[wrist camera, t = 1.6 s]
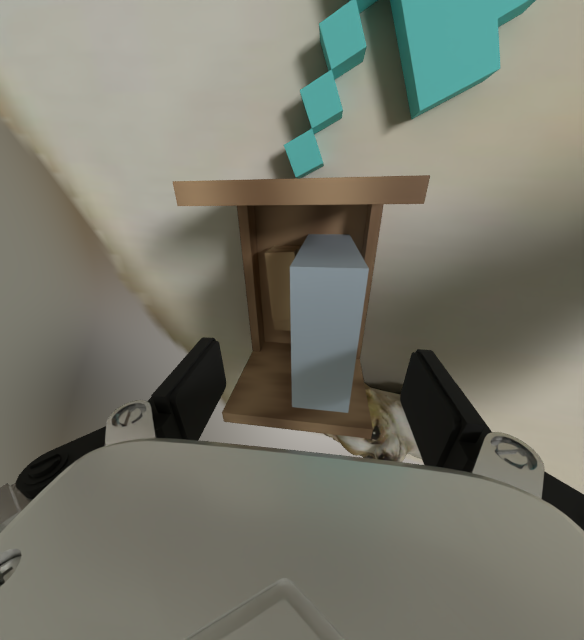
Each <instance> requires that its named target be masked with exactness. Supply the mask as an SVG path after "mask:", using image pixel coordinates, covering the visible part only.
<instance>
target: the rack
mask: <svg viewBox="0 0 584 640" xmlns="http://www.w3.org/2000/svg"><path fill="white" fill-rule="evenodd" d="M429 179H430V175H425V176H384V177H342V178H300V179H258V180H216V181H175V182H173V186H174V191H175V195H176V200H177V205H178V206H233V205H237V211H238V220H239V229H240V238H241V248H242V257H243V266H244V275H245V284H246V294H247V303H248V312H249V321H250V331H251V340H252V349H253V352H252V354H251V356H250V358H249V360H248V362H247V364H246V366H245V368H244V370H243V372H242V374H241V376H240V378H239V380H238V382H237V384H236V386H235V388H234V390H233V392H232V394H231V396H230V398H229V400H228V402H227V404H226V406H225V408H224V410H223V412H222V414H223V419H224V421H225V422H232V423H240V424H248V425H257V426H265V427H274V428H282V429H291V430H299V431H308V432H316V433H324V434H333V435H341V436H350V437H358V438H367V439H371V436H372V432H373V427H372V422H371V417H370V411H369V406H368V401H367V395H366V390H365V385H364V380H363V374H362V369H361V364H360V354H361V348H362V341H363V335H364V328H365V322H366V315H367V309H368V302H369V295H370V289H371V282H372V276H373V269H374V263H375V256H376V250H377V243H378V237H379V230H380V224H381V217H382V211H383V204H424V201H425V196H426V192H427V188H428V183H429ZM308 234H350V236H351V238H352V240H353V241H354V243H355V245H356V247H357V248H358V250H359V252H360V254H361V255H362V257H363V259H364V261H365V263H366V264H367V266H368V268H369V272H368V279H367V286H366V293H365V299H364V306H363V313H362V320H361V327H360V334H359V341H358V348H357V355H356V362H355V369H354V376H353V383H352V390H351V397H350V404H349V411H348V413H344V412H335V411H325V410H316V409H306V408H297V407H292V376H291V331H285V330H275V322H274V320H272V313H271V304H270V295H269V287H268V278H267V269H266V260H265V252H266V251H268V250H269V249H271V248H272V247H273V246H274V245H275V246H302V245H303V243H304V241H305V239H306V238H307V236H308Z"/></svg>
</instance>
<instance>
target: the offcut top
mask: <svg viewBox="0 0 584 640" xmlns="http://www.w3.org/2000/svg"><path fill="white" fill-rule="evenodd" d="M296 255H297V248H292V249H269V250H268V251H266V252H265V260H266V269H267V278H268V287H269V295H270V304H271V313H272V320H291V312H290V265H291V264H292V262H293V260H294V258H295V257H296Z"/></svg>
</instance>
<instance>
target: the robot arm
mask: <svg viewBox="0 0 584 640" xmlns="http://www.w3.org/2000/svg"><path fill="white" fill-rule="evenodd" d="M225 387H226V378H225V373H224V367H223V362H222V356H221V351H220V345H219V342H218V341H216V340H215V339H214V338H202V339H201V340H200V341H199V342H198V343H197V344H196V345H195V346H194V348H193V349H192V350H191V351H190V352H189V353H188V354H187V356H186V357H185V358H184V359H183V360H182V361H181V362H180V364H179V365H178V366H177V367H176V368H175V369H174V370H173V372H172V373H171V374H170V375H169V376H168V377H167V378H166V379H165V381H164V382H163V383H162V384H161V385H160V386H159V387H158V389H157V390H156V391H155V392H154V393H153V394H152V397H151V398H150V399H149V400H148V401H144V400H136V401H132V402H129V403H126V404H124V405H122V406H121V407H119V408H118V409H116V410H115V411H114V412H113V413H112V414H111V415H110V416H109V418H108V420H107V423H106V426H105V427H103V428H101V429H99V430H96V431H94V432H92V433H90V434H87V435H85V436H83V437H81V438H78V439H76V440H74V441H71V442H69V443H67V444H65V445H63V446H60V447H58V448H56V449H53V450H51V451H49V452H47V453H45V454H43V455H41V456H40V457H38V458H37V459H35V460H34V461H33V462H31V463H30V464H29V465H28V466H27V467H26V468H25V469H24V470H23V471H22V472H21V474H20V475H19V476H18V479H17V481H16V483H14V484H12V485H11V486H10V485H9V484H8V483H7V484H5V485H3V486H2V487H0V640H584V494H582V493H580V492H578V491H577V490H575V489H573V488H572V487H570V486H568V485H567V484H565V483H563V482H561V481H560V480H558V479H556V478H555V477H553V476H551V475H550V474H548V473H546V472H544V463H543V461H542V460H541V458H540V456H539V455H538V454H537V453H536V452H535V451H534V450H533V449H532V448H531V447H530V446H528V445H527V444H526V443H524V442H523V441H521V440H519V439H517V438H515V437H513V436H511V435H508V434H505V433H501V432H491V430H490V429H489V427H488V426H487V425H486V423H485V422H484V421H483V419H482V418H481V416H480V415H479V414H478V412H477V411H476V410H475V408H474V407H473V405H472V404H471V403H470V401H469V400H468V399H467V397H466V396H465V395H464V393H463V392H462V390H461V389H460V388H459V386H458V385H457V384H456V383H455V381H454V380H453V379H452V377H451V376H450V374H449V373H448V372H447V370H446V369H445V368H444V366H443V365H442V363H441V362H440V361H439V359H438V358H437V357H436V355H435V354H434V352H433V351H431V350H417V351H416V353H415V352H413V353H412V355H411V358H410V362H409V365H408V369H407V373H406V376H405V380H404V384H403V387H402V391H401V394H400V402H401V405H402V408H403V410H404V413H405V415H406V418H407V421H408V423H409V426H410V428H411V431H412V434H413V436H414V439H415V442H416V444H417V447H418V449H419V452H420V455H421V457H422V460H423V462H424V465H419V464H411V463H403V462H395V461H386V460H377V459H368V458H360V457H350V456H342V455H332V454H323V453H314V452H305V451H296V450H286V449H277V448H268V447H258V446H247V445H238V444H228V443H218V442H208V441H198V440H199V438H200V436H201V434H202V432H203V430H204V428H205V426H206V424H207V423H208V421H209V418H210V417H211V415H212V413H213V411H214V409H215V407H216V405H217V403H218V401H219V400H220V398H221V396H222V394H223V392H224V390H225Z"/></svg>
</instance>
